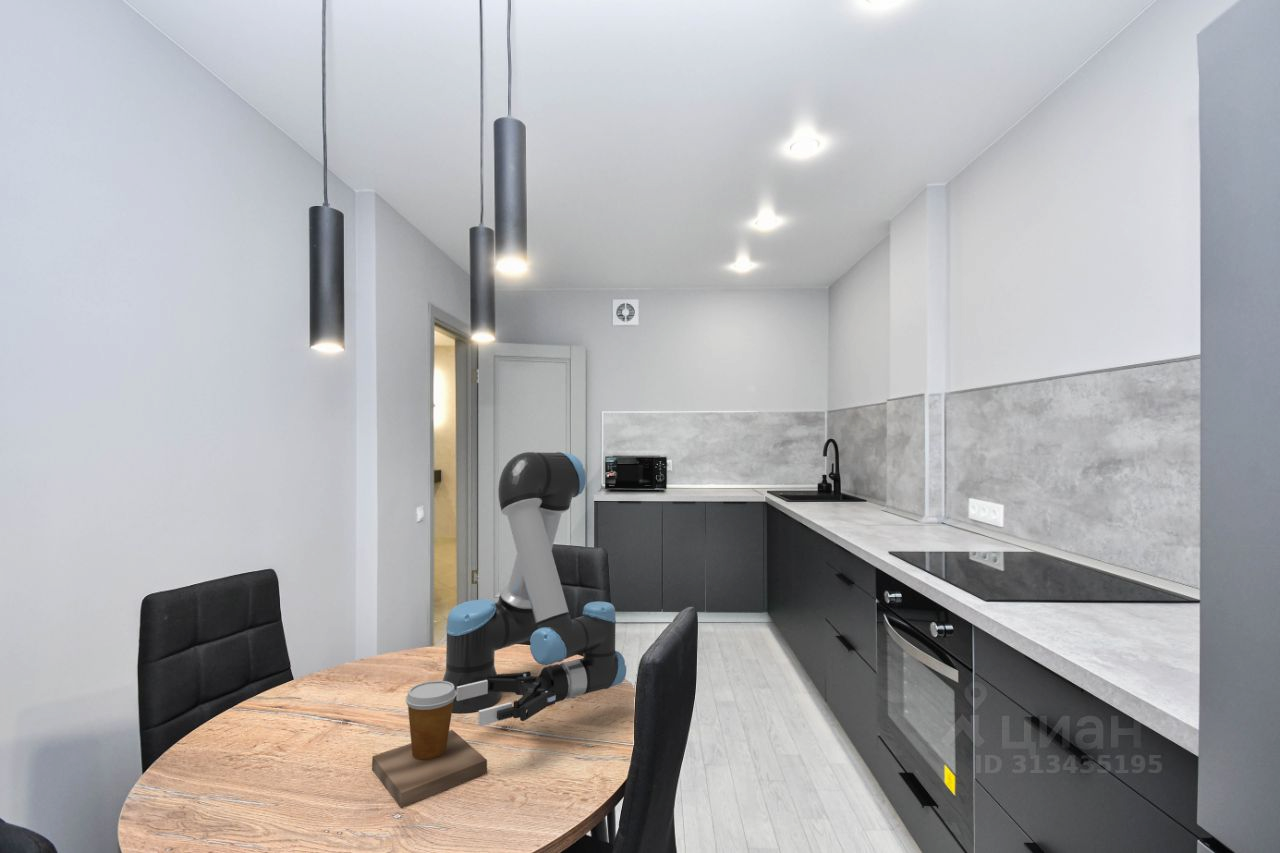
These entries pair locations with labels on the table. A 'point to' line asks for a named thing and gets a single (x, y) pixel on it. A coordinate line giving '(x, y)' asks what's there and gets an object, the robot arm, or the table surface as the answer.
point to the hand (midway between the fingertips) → (467, 705)
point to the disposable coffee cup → (430, 717)
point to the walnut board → (427, 770)
